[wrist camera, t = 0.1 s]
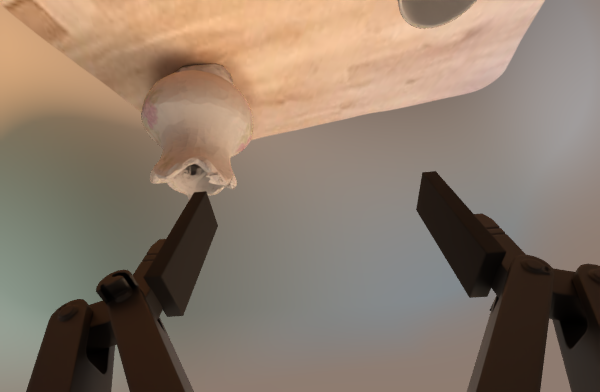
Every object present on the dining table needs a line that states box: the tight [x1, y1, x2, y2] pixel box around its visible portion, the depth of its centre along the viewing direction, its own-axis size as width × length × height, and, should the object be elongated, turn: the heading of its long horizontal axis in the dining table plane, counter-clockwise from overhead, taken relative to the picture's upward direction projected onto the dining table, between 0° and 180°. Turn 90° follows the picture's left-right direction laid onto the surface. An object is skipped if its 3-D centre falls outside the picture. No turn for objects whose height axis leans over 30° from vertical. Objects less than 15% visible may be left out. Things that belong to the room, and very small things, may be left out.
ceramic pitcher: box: [141, 64, 253, 200], centre depth 52 cm, size 22×20×25 cm
